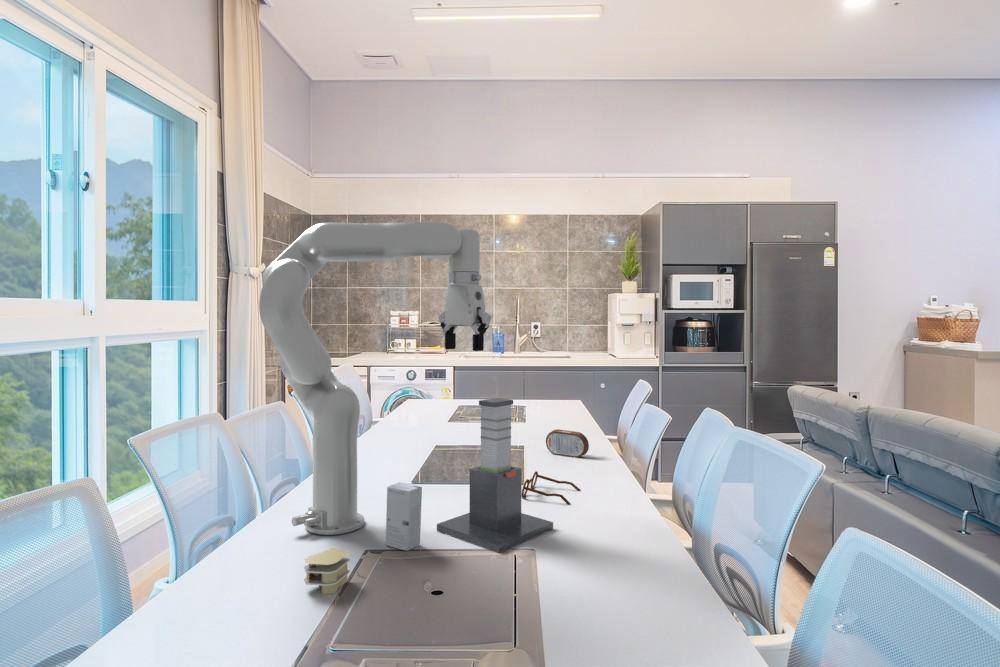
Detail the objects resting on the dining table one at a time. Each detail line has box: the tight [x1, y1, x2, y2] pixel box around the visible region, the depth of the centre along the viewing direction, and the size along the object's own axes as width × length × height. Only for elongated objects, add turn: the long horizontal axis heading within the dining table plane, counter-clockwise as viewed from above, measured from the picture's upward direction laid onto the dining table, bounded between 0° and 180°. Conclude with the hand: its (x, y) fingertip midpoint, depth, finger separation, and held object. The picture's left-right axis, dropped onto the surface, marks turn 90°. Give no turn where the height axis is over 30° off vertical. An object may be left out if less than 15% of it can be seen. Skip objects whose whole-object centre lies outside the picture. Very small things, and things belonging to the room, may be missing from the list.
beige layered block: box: [303, 548, 351, 595], centre depth 103 cm, size 10×9×6 cm
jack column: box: [478, 397, 514, 474], centre depth 131 cm, size 6×5×21 cm
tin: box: [545, 428, 590, 459], centre depth 201 cm, size 15×3×8 cm, turn 58°
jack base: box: [436, 465, 554, 553], centre depth 131 cm, size 18×18×14 cm
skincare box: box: [385, 481, 423, 552], centre depth 122 cm, size 6×4×12 cm
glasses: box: [521, 471, 582, 505], centre depth 157 cm, size 13×13×5 cm
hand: (463, 349), depth 148 cm, fingers open, 9 cm apart
